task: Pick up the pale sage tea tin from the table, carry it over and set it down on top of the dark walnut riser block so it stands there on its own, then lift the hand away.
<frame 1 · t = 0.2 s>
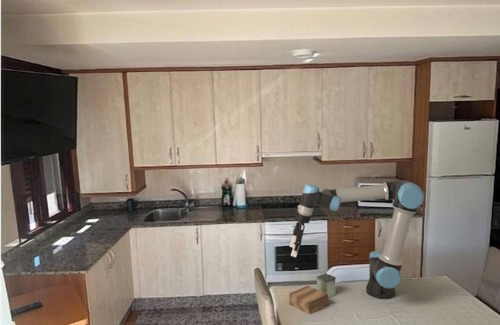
hand: (292, 251, 196), 27 cm above the table, fingers open, 13 cm apart
walnut riser: (308, 304, 194), on the table
tea tin: (326, 294, 205), on the table
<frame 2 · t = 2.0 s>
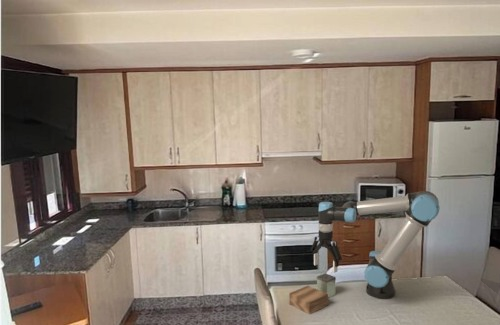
hand: (325, 268, 204), 15 cm above the table, fingers open, 13 cm apart
nothing on the table moved.
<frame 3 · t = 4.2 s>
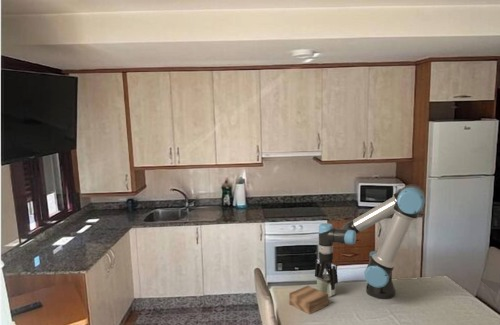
hand: (326, 292, 205), 1 cm above the table, fingers closed on tea tin, 7 cm apart
tea tin: (326, 294, 205), on the table, touching gripper
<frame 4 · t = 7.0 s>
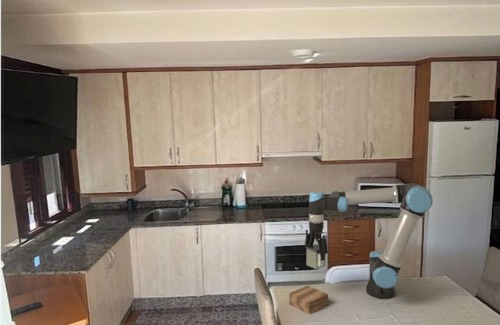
hand: (315, 263, 198), 20 cm above the table, fingers closed on tea tin, 7 cm apart
tea tin: (315, 265, 198), point 19 cm above the table, touching gripper
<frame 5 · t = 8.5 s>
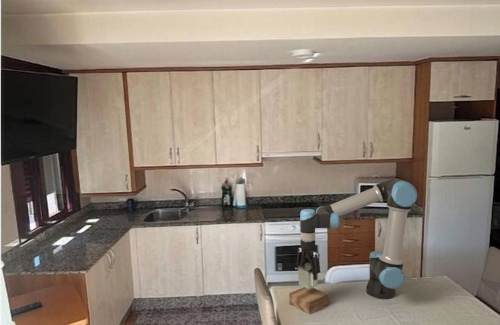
hand: (308, 282, 193), 12 cm above the table, fingers closed on tea tin, 7 cm apart
tea tin: (308, 284, 193), point 11 cm above the table, touching gripper
when the fingers open (9 cm above the table, at t = 9.9 s): tea tin drops 1 cm, resting on walnut riser.
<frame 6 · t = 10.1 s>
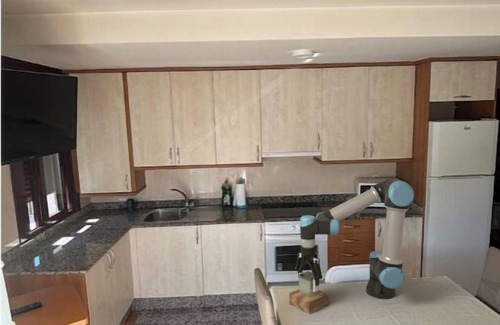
hand: (308, 287, 193), 9 cm above the table, fingers open, 9 cm apart
tea tin: (308, 293, 193), point 6 cm above the table, touching walnut riser
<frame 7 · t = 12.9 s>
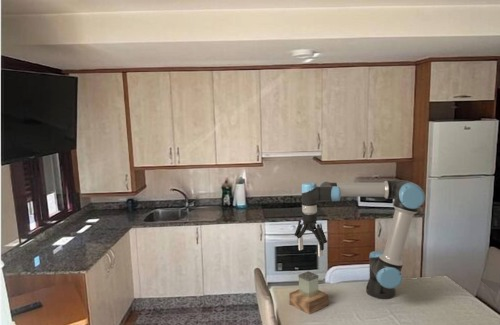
hand: (310, 252, 194), 27 cm above the table, fingers open, 13 cm apart
nothing on the table moved.
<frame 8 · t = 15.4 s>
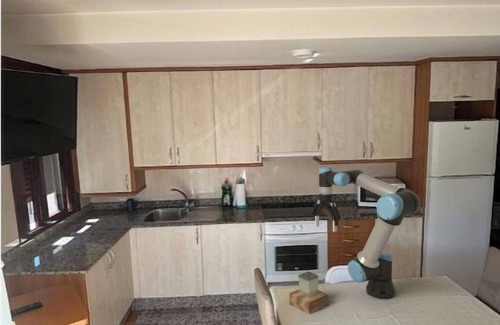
hand: (325, 228, 220), 32 cm above the table, fingers open, 13 cm apart
nothing on the table moved.
at the end: tea tin inside the target area on the walnut riser (0.0 cm from its centre), point 6.0 cm above the walnut riser's base; tea tin touching walnut riser; tea tin tilted 0° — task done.
